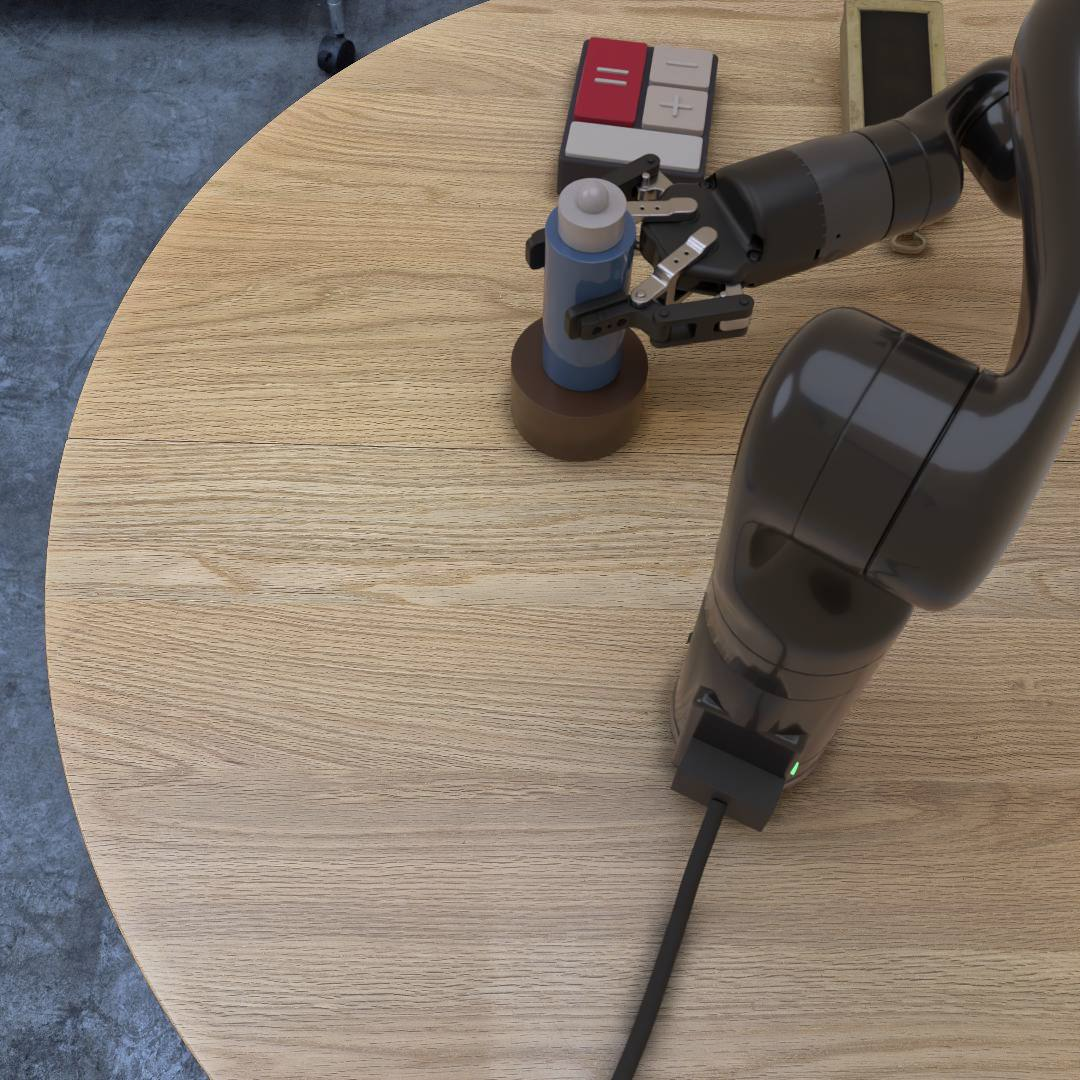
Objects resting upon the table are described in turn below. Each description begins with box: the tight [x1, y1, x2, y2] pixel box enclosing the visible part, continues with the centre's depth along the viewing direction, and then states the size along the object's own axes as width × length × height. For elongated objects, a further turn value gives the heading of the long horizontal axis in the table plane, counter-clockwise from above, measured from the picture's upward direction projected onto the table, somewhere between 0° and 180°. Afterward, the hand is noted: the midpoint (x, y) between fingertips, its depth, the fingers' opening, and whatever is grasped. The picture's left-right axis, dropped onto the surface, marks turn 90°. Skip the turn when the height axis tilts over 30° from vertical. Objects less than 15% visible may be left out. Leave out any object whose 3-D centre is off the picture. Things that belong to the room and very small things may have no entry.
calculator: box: [556, 36, 719, 201], centre depth 94 cm, size 11×4×15 cm
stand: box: [510, 316, 650, 462], centre depth 81 cm, size 9×9×5 cm
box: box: [839, 0, 948, 255], centre depth 94 cm, size 8×22×5 cm, turn 178°
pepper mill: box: [542, 178, 637, 392], centre depth 72 cm, size 5×5×15 cm
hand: (548, 289), depth 71 cm, fingers closed on pepper mill, 5 cm apart
